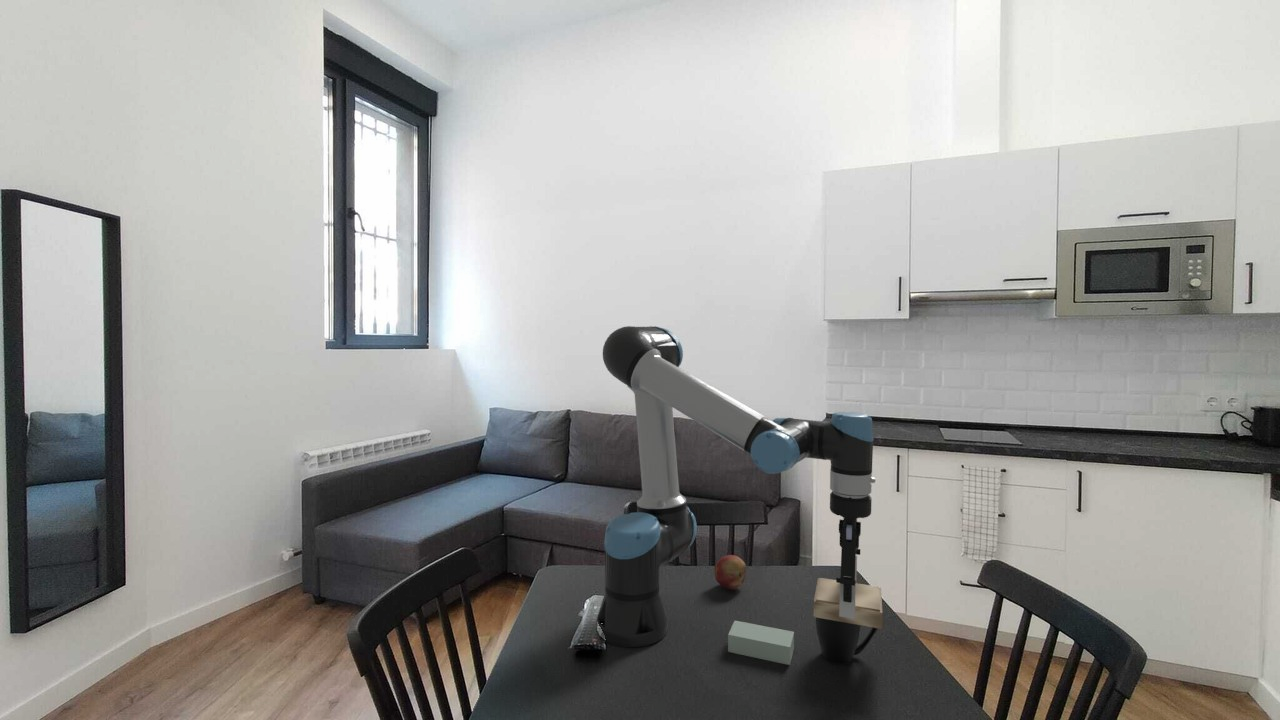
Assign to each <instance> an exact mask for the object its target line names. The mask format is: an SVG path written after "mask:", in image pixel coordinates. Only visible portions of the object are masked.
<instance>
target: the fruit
mask: <svg viewBox="0 0 1280 720" xmlns="http://www.w3.org/2000/svg"><path fill="white" fill-rule="evenodd" d="M713 568H714V572H713V573H714V578H715V579H714V580H716V582H717V583H718V584H719V585H720V586H721V587H723V588H725V589H727V590H737V589H738V588H739V587H740V588H741V586H742V585H743V584H744V583H745V582H744V581H745V579H746V573H747V566H746V562H744V560H743V559H742V558H740V556H737V555H734V554H728V555H724V556H722V557H721V558H719V560H717V562H716V563H715V565H714V567H713Z"/></svg>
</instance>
